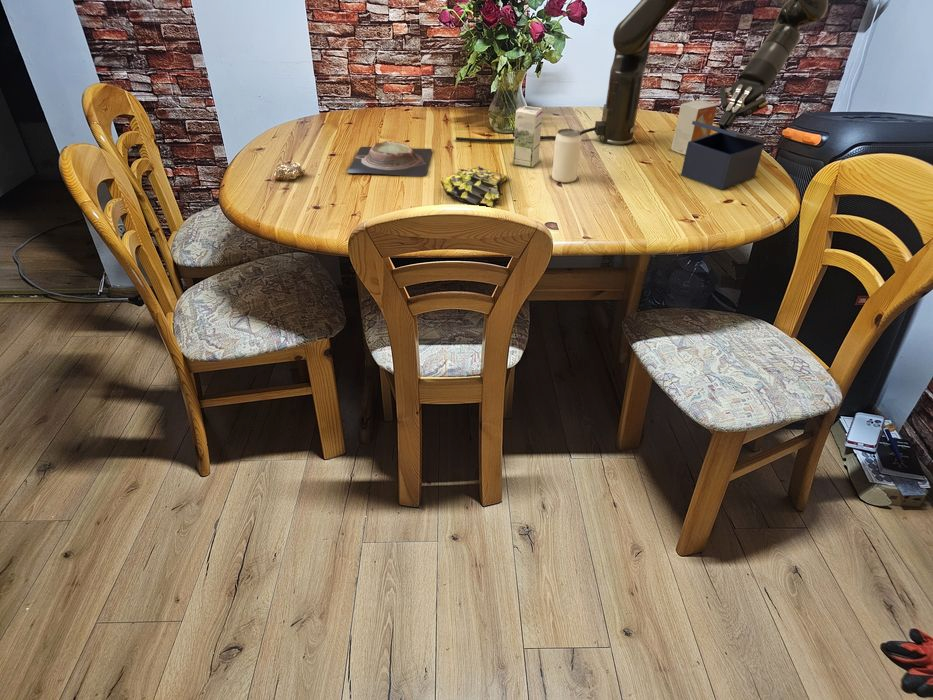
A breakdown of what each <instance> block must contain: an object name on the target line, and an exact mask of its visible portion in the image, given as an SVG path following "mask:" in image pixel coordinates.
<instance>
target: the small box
mask: <svg viewBox="0 0 933 700" xmlns="http://www.w3.org/2000/svg"><path fill="white" fill-rule="evenodd" d="M717 108H718V104H715V103H713V102H709V101H706V100H702V99H697V100H691V101H687V102H684V103H681V104H680V107H679V111H678V116H677V121H676V125H675V130H674V135H673V139H672V143H671V148H670V150H671V151H673V152H675V153H678V154H680V155H684V156H685V154H686V150H687V145H688V142H689V141H692V140H695V139H698V138H701V137H705V136H708V135H711V132H712V130H710V129H706V128H703V127H700V126H696V125H693V124H692V122H693V121H696V122H700V123H705V124H709V125H713V124H714V121H715V116H716V113H717Z"/></svg>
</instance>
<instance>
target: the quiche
mask: <svg viewBox="0 0 933 700" xmlns="http://www.w3.org/2000/svg"><path fill="white" fill-rule="evenodd" d="M432 152H433V150H432V148H412V147H411V146H410V145H407V144H405V143H403V142H396V141H395V142H394V141H391V140H385V141H381V142H378V143H375V144H373V145H372V146H360V147H359V148H358V151H357V153H356V155H355V158H354V159H353V161H352V163H351V164H350V165H349V168H348V169H347V171H346V173H347V174H375V175H390V176H391V175H392V176H402V177H406V176H407V177H424V176H426V175H427V173H428V167H429V162H430V159H431V156H432Z"/></svg>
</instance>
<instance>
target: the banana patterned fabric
mask: <svg viewBox="0 0 933 700" xmlns="http://www.w3.org/2000/svg"><path fill="white" fill-rule="evenodd" d="M508 176H509V175H508V174H502V173H499V172H495V171H492V170H491V169H486V168H485V167H482V166H481V165H478V166H477V165H476V166H475V167H473V168H468V169H465V170H458V171H457V172H456V173H454V174H453V175H449V176H447V177H441V179H440V184H441V186H442V188H443V190H444V192H445V194H446V196H449V197H451V198H453V199H457V200H458V201H460V202H465V203H467V204H470V205H475V206H478V205H481V204H484V205H486V206H488V207H490V208H493V206H494V203H497V202H499V200H500V199H501V198H500V196H503V193H502V191H501V187H500V186H501V185H502V184H503V183H504V182H506V181H507V180H508Z"/></svg>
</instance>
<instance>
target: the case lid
mask: <svg viewBox="0 0 933 700" xmlns="http://www.w3.org/2000/svg"><path fill="white" fill-rule="evenodd" d="M692 124H693V125H696V126H700V127H703V128H706V129H710V130H711V131H714V132H715V133H717V132H720V133H723V134H726V135H730V136H733V137H737V138H742V139H746V140H751V141H756V142H760V143H764V144H765V143H766V139H763V138H760V137H756V136H753V135H749V134H746V133H743V132H739V131H736V130H734V129H733V130H732V129H730V128H727V129H726V130H724V129H721V128H720V127H719V125H718V126H717V125H713V124H712V125H709V124H705V123H700V122H696V121H693V122H692Z"/></svg>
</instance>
